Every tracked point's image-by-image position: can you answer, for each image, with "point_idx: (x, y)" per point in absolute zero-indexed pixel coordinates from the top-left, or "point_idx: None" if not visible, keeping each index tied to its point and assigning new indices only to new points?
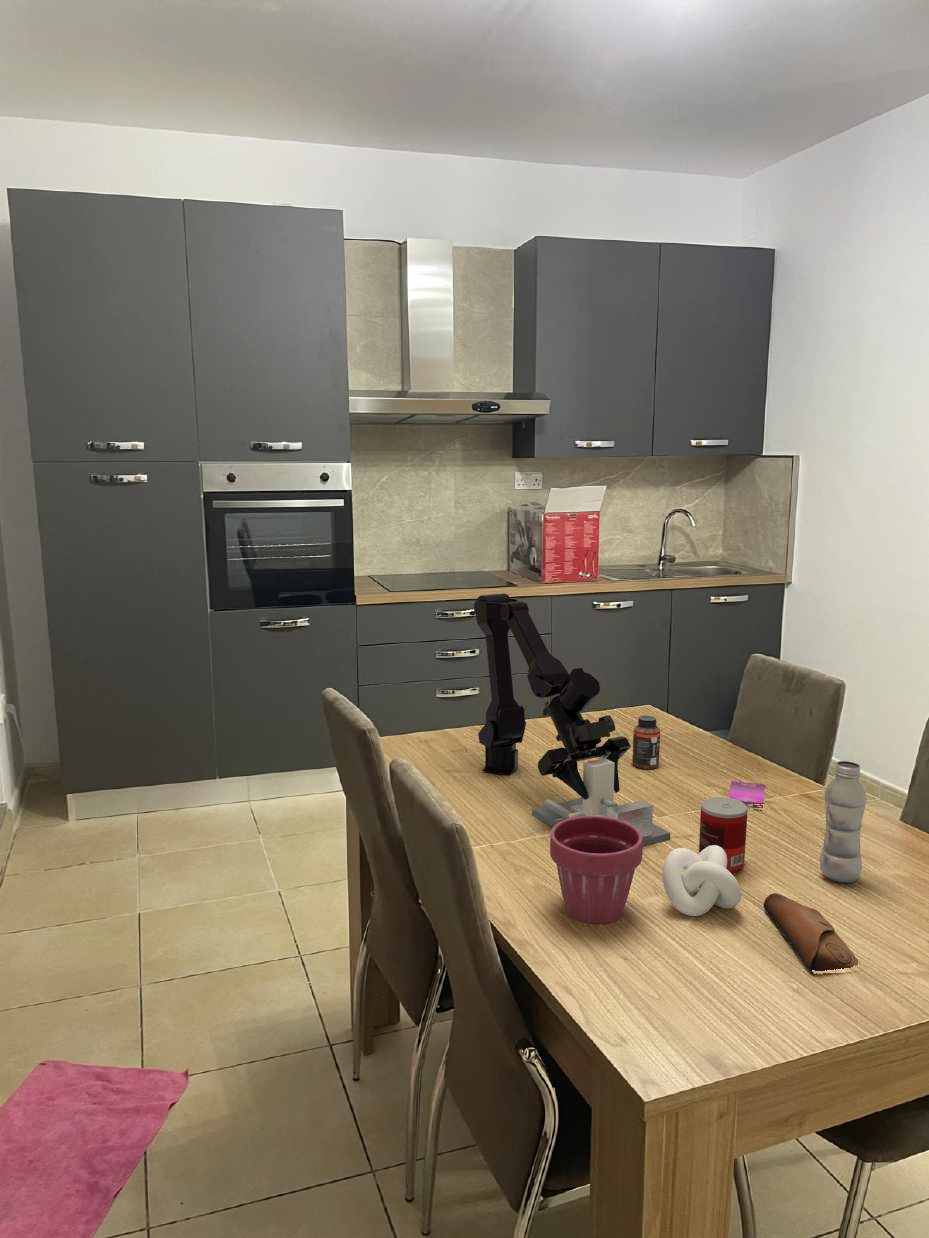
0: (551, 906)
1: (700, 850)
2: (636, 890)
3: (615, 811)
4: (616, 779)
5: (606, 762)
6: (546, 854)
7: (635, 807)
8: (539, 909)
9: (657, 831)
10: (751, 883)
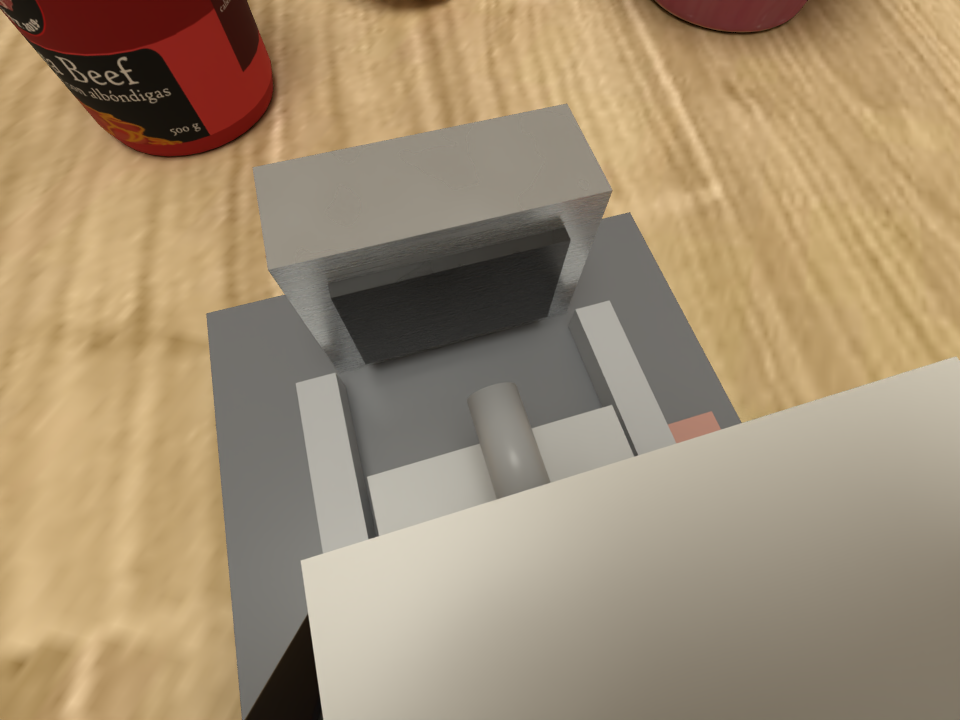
0: (842, 12)
1: (248, 40)
2: (565, 32)
3: (573, 132)
4: (304, 674)
5: (532, 634)
6: (858, 304)
7: (403, 158)
8: (877, 7)
9: (261, 342)
10: None
